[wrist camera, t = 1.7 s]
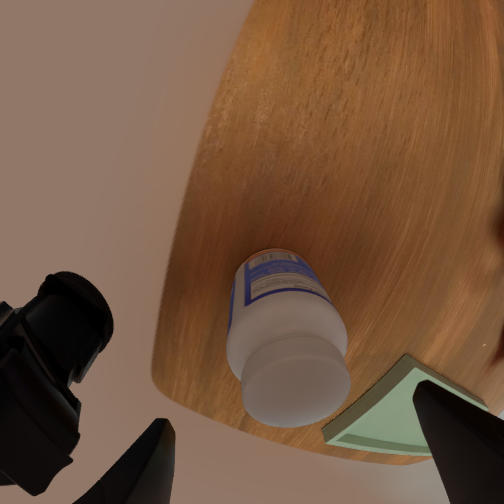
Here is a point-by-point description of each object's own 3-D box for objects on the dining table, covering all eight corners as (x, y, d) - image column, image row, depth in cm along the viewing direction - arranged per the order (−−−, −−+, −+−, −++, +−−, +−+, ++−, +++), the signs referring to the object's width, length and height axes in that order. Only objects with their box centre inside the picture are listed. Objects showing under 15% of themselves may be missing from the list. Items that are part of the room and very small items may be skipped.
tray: (321, 429, 23) (325, 443, 22) (405, 353, 21) (415, 367, 19) (432, 448, 29) (436, 456, 27) (483, 401, 26) (489, 408, 24)
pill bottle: (282, 332, 19) (306, 448, 10) (216, 297, 18) (195, 414, 9) (330, 273, 18) (397, 371, 9) (262, 228, 17) (284, 313, 7)
